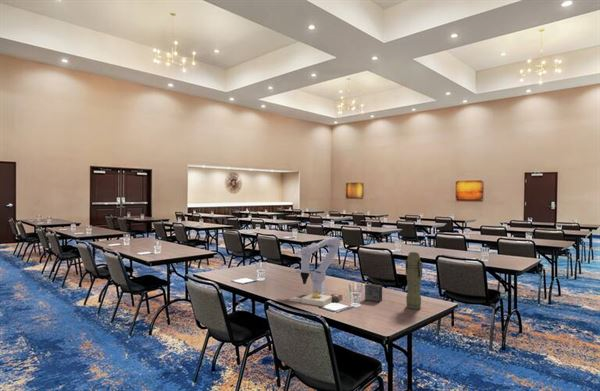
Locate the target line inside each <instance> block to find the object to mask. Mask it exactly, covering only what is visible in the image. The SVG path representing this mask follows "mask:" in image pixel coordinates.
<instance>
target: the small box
mask: <svg viewBox="0 0 600 391" xmlns="http://www.w3.org/2000/svg"><path fill="white" fill-rule="evenodd" d="M364 301H369V302H373V303H381V302H382V301H383V285H381V284H375V283H367V284H365V285H364Z"/></svg>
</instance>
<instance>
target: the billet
mask: <svg viewBox="0 0 600 391" xmlns="http://www.w3.org/2000/svg"><path fill="white" fill-rule="evenodd" d="M312 293H313V298H318V299H319V298H320V291H314V292H313V291H312Z"/></svg>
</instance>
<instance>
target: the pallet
mask: <svg viewBox="0 0 600 391" xmlns="http://www.w3.org/2000/svg"><path fill="white" fill-rule="evenodd" d="M301 298H302V301H301V303H302V304H306V305H314V306H318V307H319V306H320V307H321V306H324V307H326V306H328V305H329V304H330V303H332V302H333V301H332V296H330V295H326V294H323V295H320V298H319V299H318V298H313V292H311V293H308V294H306V295H304V296H302V297H301ZM325 305H326V306H325Z"/></svg>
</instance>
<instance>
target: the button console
mask: <svg viewBox="0 0 600 391" xmlns="http://www.w3.org/2000/svg"><path fill="white" fill-rule="evenodd" d="M333 295H339V297H334V296H333ZM329 296H332V302H334V303H335V302H336V303H340V302H341V301H342V300H343V294H336V293H332V294H330V295H329Z"/></svg>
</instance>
